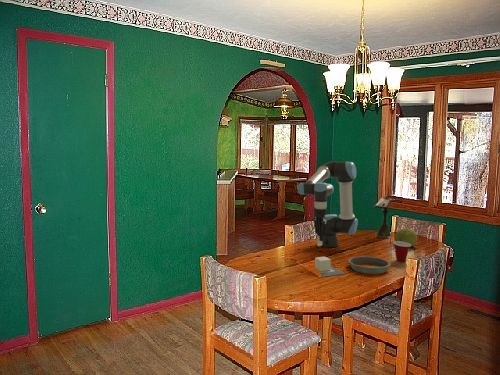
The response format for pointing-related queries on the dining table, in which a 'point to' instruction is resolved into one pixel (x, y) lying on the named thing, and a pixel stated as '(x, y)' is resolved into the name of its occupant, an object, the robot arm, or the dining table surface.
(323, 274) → the blue-grey flat triangle
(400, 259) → the plastic cup
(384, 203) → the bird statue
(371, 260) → the cake pan
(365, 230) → the dining table surface
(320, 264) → the cream block
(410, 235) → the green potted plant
